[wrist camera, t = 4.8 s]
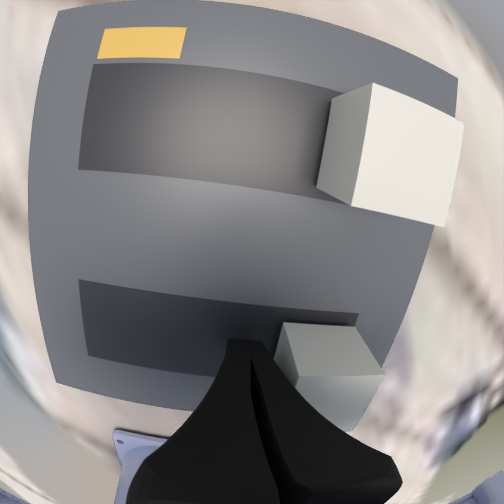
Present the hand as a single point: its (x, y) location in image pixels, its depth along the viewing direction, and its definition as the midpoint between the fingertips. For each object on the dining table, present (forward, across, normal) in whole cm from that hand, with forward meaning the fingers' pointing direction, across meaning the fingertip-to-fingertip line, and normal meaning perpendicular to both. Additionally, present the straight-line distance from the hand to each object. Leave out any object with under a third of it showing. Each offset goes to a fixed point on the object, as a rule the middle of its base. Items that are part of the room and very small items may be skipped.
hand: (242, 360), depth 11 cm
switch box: (+3, +1, -4) cm, 5 cm away
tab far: (+1, -3, 0) cm, 3 cm away
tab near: (+1, -3, -8) cm, 9 cm away
